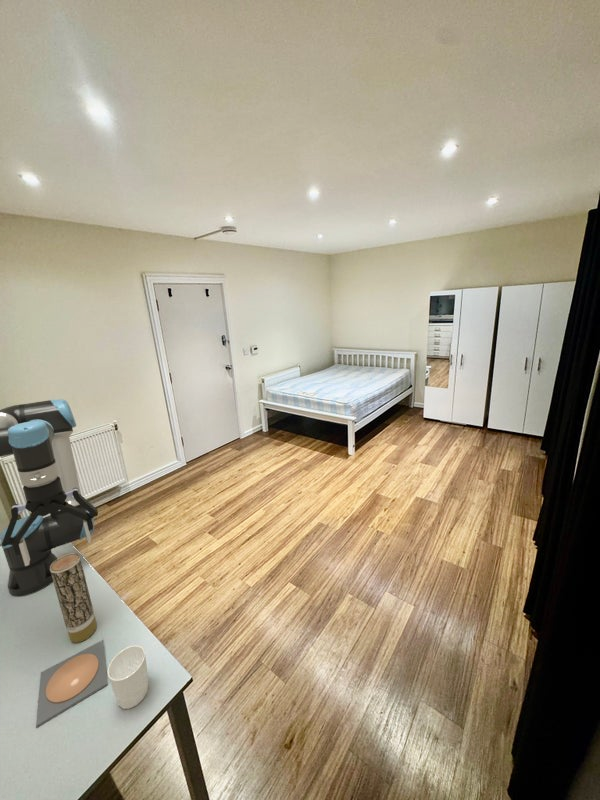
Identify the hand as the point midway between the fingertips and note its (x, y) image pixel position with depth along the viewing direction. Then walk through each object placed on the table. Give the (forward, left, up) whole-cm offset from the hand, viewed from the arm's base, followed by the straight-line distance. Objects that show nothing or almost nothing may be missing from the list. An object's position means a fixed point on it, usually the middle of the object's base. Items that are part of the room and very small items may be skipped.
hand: (60, 551), depth 84 cm
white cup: (+27, +10, -29) cm, 41 cm away
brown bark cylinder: (0, 0, -29) cm, 29 cm away
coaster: (+14, -2, -29) cm, 32 cm away
